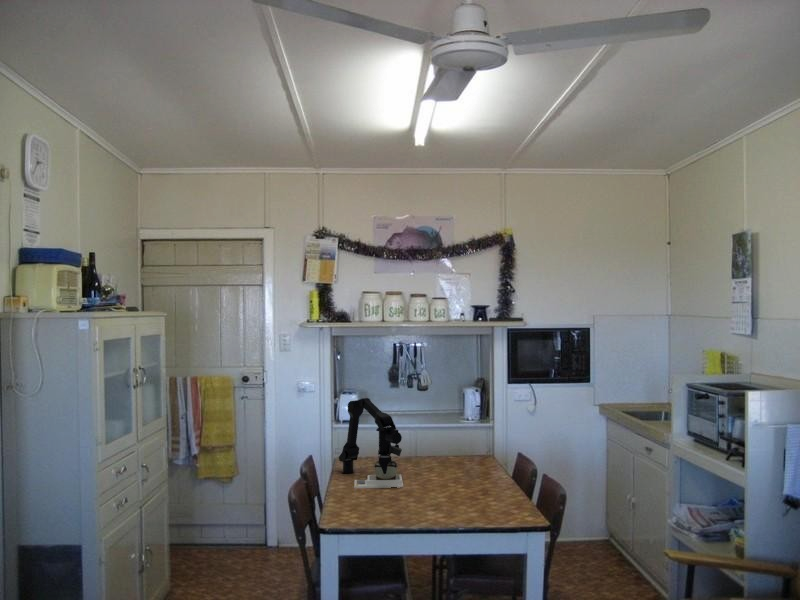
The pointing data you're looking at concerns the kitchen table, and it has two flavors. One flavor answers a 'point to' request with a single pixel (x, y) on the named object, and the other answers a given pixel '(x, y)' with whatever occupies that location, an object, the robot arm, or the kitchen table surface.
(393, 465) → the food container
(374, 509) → the kitchen table surface
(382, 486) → the dock
